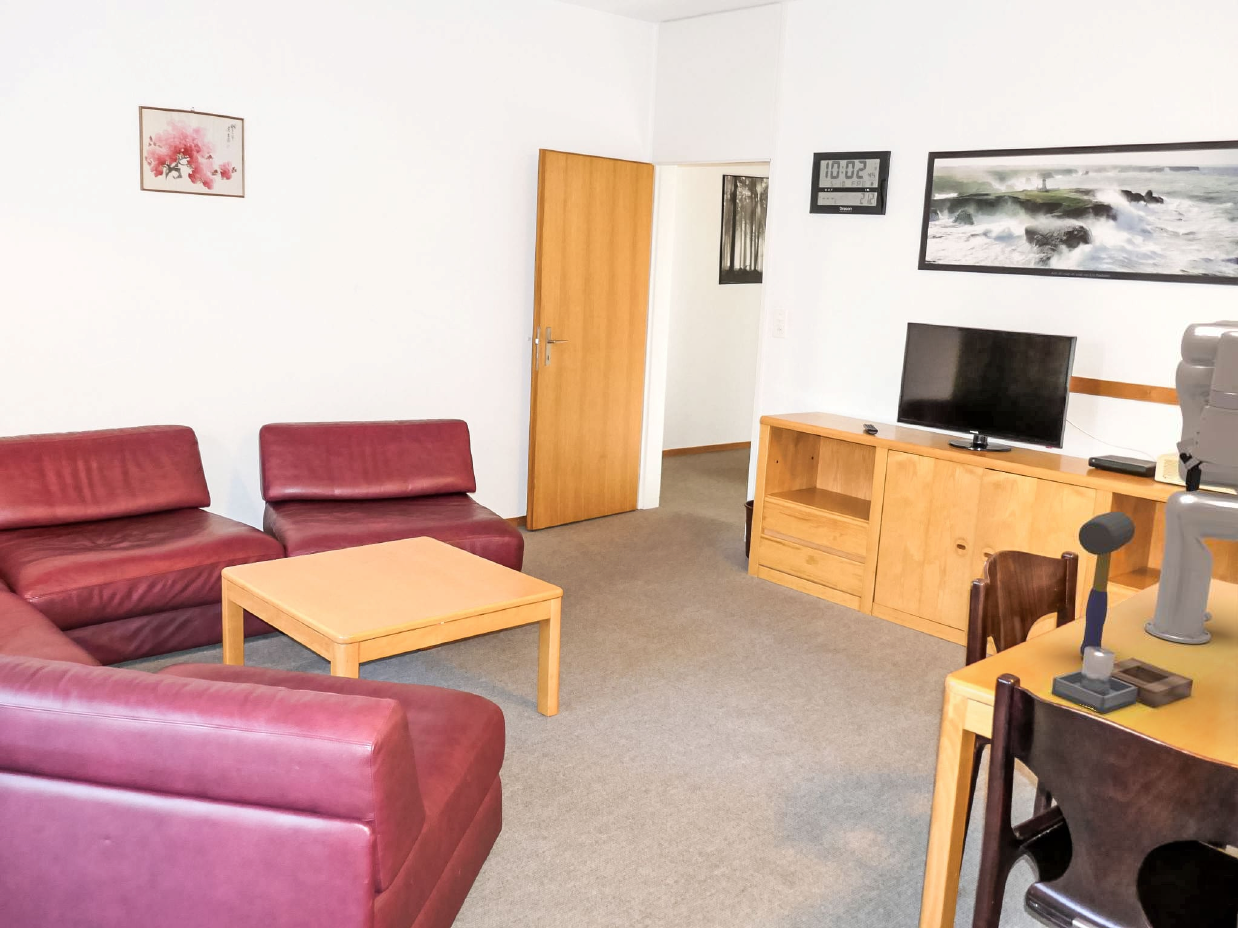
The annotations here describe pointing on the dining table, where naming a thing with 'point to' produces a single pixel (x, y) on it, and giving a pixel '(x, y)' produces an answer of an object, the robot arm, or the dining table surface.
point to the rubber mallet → (1102, 566)
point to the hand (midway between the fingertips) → (1218, 496)
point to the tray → (1072, 691)
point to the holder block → (1152, 682)
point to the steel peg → (1097, 670)
